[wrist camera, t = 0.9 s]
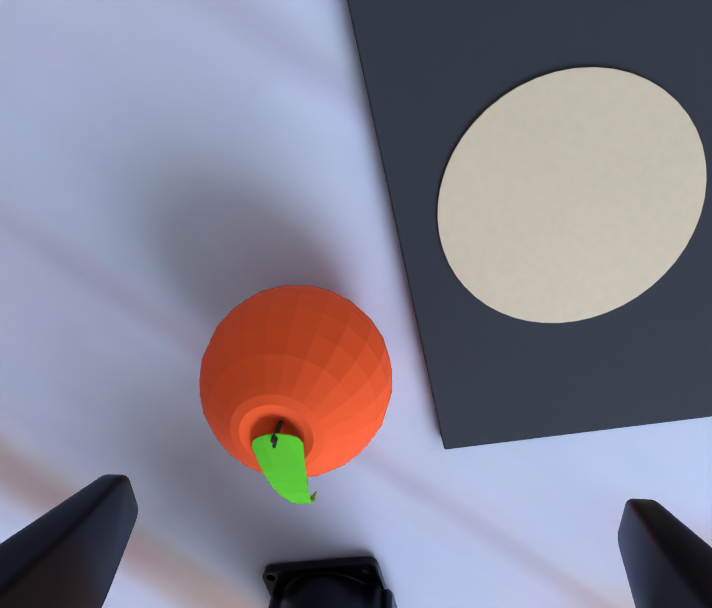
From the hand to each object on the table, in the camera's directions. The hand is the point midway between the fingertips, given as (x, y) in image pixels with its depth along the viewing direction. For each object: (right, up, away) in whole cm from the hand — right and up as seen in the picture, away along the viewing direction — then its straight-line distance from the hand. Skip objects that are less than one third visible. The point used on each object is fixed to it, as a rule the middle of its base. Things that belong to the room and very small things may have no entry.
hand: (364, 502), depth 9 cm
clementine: (-2, +2, +13) cm, 13 cm away
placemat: (+7, +7, +9) cm, 14 cm away
